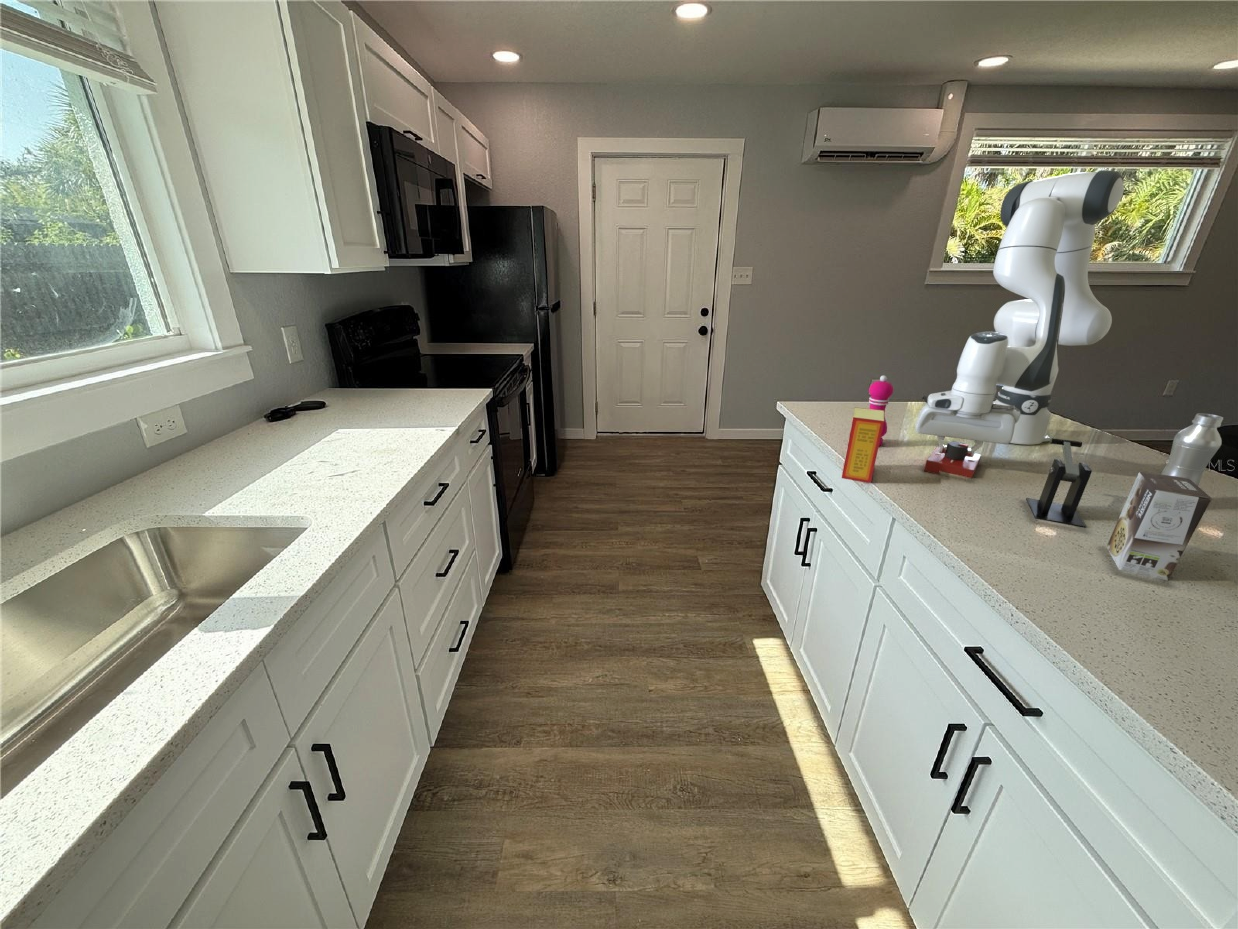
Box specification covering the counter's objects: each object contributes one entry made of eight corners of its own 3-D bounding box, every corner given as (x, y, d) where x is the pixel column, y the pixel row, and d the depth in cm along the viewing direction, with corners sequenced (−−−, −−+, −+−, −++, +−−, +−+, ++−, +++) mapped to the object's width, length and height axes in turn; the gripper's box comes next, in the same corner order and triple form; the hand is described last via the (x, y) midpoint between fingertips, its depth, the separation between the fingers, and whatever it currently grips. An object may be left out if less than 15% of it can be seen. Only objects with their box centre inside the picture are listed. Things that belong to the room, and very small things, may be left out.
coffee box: (1168, 586, 81) (1214, 499, 74) (1116, 573, 84) (1155, 489, 78) (1151, 559, 88) (1191, 477, 82) (1103, 549, 91) (1138, 469, 85)
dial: (941, 456, 125) (945, 442, 124) (948, 452, 128) (951, 439, 126) (961, 461, 122) (965, 447, 120) (967, 457, 125) (971, 443, 123)
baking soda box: (843, 464, 129) (855, 405, 122) (871, 468, 126) (884, 409, 120) (841, 478, 121) (853, 416, 114) (870, 483, 118) (884, 419, 112)
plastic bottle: (1183, 512, 103) (1228, 422, 96) (1141, 499, 109) (1180, 413, 101) (1195, 506, 106) (1240, 417, 98) (1153, 493, 112) (1192, 409, 104)
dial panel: (934, 456, 134) (937, 445, 132) (978, 465, 127) (981, 454, 126) (923, 470, 125) (926, 459, 123) (970, 481, 118) (974, 469, 117)
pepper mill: (887, 448, 139) (902, 378, 131) (859, 446, 141) (873, 377, 133) (879, 439, 146) (894, 373, 138) (854, 438, 147) (866, 372, 139)
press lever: (1048, 442, 106) (1053, 434, 104) (1078, 446, 104) (1083, 438, 102) (1051, 479, 100) (1056, 471, 98) (1083, 484, 97) (1089, 476, 96)
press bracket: (1024, 502, 108) (1042, 453, 104) (1070, 510, 105) (1091, 459, 100) (1033, 522, 100) (1053, 469, 96) (1084, 531, 97) (1107, 477, 92)
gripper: (1020, 403, 117) (1002, 456, 123) (922, 393, 126) (909, 444, 131) (1026, 410, 112) (1007, 465, 118) (923, 399, 121) (910, 451, 126)
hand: (955, 454), depth 125 cm, fingers closed on dial, 4 cm apart
